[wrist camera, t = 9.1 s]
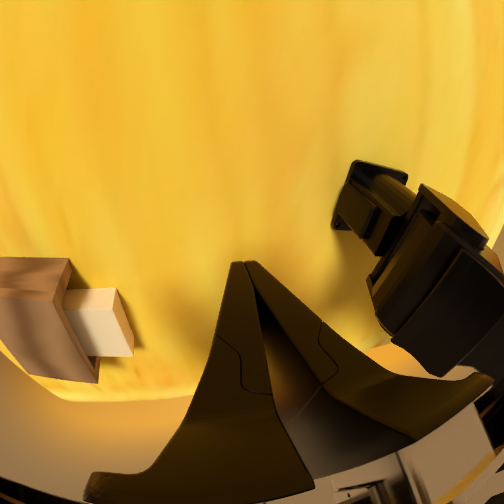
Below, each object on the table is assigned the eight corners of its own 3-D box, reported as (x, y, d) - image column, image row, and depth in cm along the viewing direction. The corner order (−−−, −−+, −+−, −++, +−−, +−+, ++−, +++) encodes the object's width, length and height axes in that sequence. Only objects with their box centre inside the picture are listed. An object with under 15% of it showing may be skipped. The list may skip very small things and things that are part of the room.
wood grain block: (68, 258, 19) (51, 301, 16) (101, 347, 28) (98, 383, 24) (-9, 256, 17) (-30, 293, 13) (36, 341, 25) (28, 373, 21)
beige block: (116, 284, 23) (112, 309, 21) (134, 333, 28) (133, 356, 26) (33, 287, 21) (24, 309, 18) (61, 333, 26) (56, 354, 23)
